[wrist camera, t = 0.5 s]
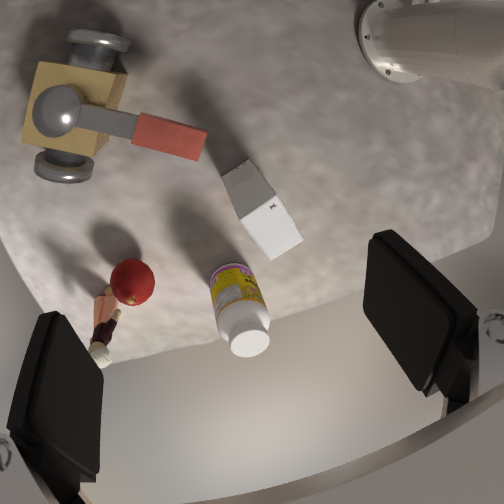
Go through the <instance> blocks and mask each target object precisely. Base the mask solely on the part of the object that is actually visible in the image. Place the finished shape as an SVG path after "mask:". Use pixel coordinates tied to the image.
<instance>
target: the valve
mask: <svg viewBox="0 0 504 504" xmlns="http://www.w3.org/2000/svg"><path fill="white" fill-rule="evenodd" d="M64 41H65V42H70V43H73V44H72V47H71V50H70V53H69V56H68V59H67V62H50V61H39V63H38V67H37V70H36V74H35V78H34V81H33V85H32V89H31V93H30V98H29V102H28V107H27V112H26V116H25V122H24V127H23V133H22V139H21V142H22V143H27V144H32V145H37V146H42V147H46V148H45V151H43V152H40V153H38V154H37V155H36V158H35V165H34V172H35V174H36V175H38V176H39V177H41V178H43V179H45V180H48V181H52V182H57V183H68V184H70V183H81V182H84V181H87V180H89V179H90V178H91V176H92V171H93V167H94V161H93V160H92V159H91V158H89V157H93V156H94V155H95V154H96V153H97V152H98V151H99V150H100V149H101V147H102V146H103V145H104V144H105V143H106V142H107V141H108V140H109V136H110V134H105V133H101V132H96V131H92V130H87V129H83V128H78V127H76V128H75V129H73V130H72V131H70V132H68V133H67V134H65V135H63V136H61V137H57V138H49V137H46V136H44V135H42V134H41V133H40V132H39V131H38V130H37V129H36V127H35V125H34V123H33V119H32V109H33V105H34V102H35V100H36V99H37V97H38V96H39V94H40V93H41V92H43V91H44V90H45V89H47V88H49V87H52V86H56V85H63V84H69V85H73V86H75V87H77V88H78V89H79V90H80V91H81V92H82V94H83V96H84V98H85V102H86V104H91V105H96V106H101V107H105V108H110V109H114V110H117V108H118V104H119V101H120V98H121V95H122V92H123V89H124V86H125V83H126V80H127V77H128V74H125V73H120V72H116V71H111V68H112V65H113V63H114V60H115V57H116V54H117V51H118V52H123V53H127V51H128V48H129V46H130V43H131V40H130V39H127V38H124V37H121V36H118V35H114V34H110V33H105V32H100V31H95V30H88V29H81V28H69V29H68V32H67V35H66V37H65V40H64Z"/></svg>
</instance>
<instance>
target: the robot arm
mask: <svg viewBox="0 0 504 504" xmlns="http://www.w3.org/2000/svg"><path fill="white" fill-rule="evenodd" d="M420 2H421V0H375V1H373V2H372V3H370V4H369V5H368V6H367V7H366V8H365V10H364V11H363V13H362V15H361V17H360V21H359V26H358V36H359V42H360V46H361V49H362V52H363V54H364V56H365V58H366V60H367V61H368V63H369V64H370V65H371V67H372V68H373V69H374V70H375V71H376V72H377V73H378V74H380V75H381V76H382V77H384V78H386V79H388V80H390V81H394V82H398V83H411V82H414V81H417V80H419V79H420V78H422V77H423V76H430V77H436V78H442V79H447V80H452V81H457V82H462V83H466V84H471V85H475V86H479V87H483V88H488V89H492V90H497V91H504V0H472V1H450V2H440V0H425V3H424V4H420ZM363 310H364V313H365V315H366V316H367V318H368V319H369V321H370V322H371V324H372V325H373V327H374V328H375V329H376V331H377V332H378V334H379V335H380V337H381V338H382V340H383V341H384V342H385V344H386V345H387V347H388V348H389V350H390V351H391V353H392V354H393V356H394V357H395V358H396V360H397V361H398V363H399V364H400V366H401V367H402V369H403V370H404V372H405V373H406V375H407V376H408V378H409V380H410V381H411V383H412V384H413V386H414V387H415V388H416V390H418V391H422V392H423V393H424V395H425V397H428V396H430V395H432V394H434V393H436V392H438V391H441V392H442V394H443V395H444V401H443V407H442V413H441V419H440V420H438V421H436V422H434V423H432V424H431V425H429V426H427V427H425V428H423V429H421V430H419V431H417V432H416V433H413V434H411V435H410V436H408V437H406V438H403V439H401V440H399V441H397V442H395V443H393V444H391V445H389V446H387V447H384V448H382V449H380V450H378V451H375V452H373V453H371V454H368V455H366V456H364V457H361V458H359V459H356V460H354V461H351V462H349V463H346V464H344V465H341V466H338V467H335V468H332V469H330V470H327V471H324V472H321V473H318V474H315V475H312V476H309V477H306V478H303V479H300V480H296V481H293V482H289V483H286V484H282V485H278V486H275V487H271V488H267V489H262V490H258V491H254V492H250V493H246V494H241V495H235V496H231V497H225V498H219V499H213V500H207V501H200V502H194V503H185V504H504V311H501V310H489V311H486V312H485V313H483V314H482V315H481V317H479V316H478V315H477V314H476V313H477V308H475V306H474V305H473V304H472V303H471V302H470V301H469V300H468V299H467V298H466V297H465V296H464V295H463V294H462V293H461V292H460V291H459V290H458V289H457V288H456V287H455V286H454V285H453V284H452V283H451V282H450V281H449V280H447V278H446V277H445V276H443V275H442V274H441V273H440V272H439V271H438V270H437V269H436V268H435V267H434V266H433V265H432V264H431V263H430V262H429V261H428V260H426V259H425V258H424V257H423V256H422V255H421V254H420V253H419V252H418V251H417V250H415V249H414V248H413V247H412V246H411V245H410V244H409V243H408V242H406V241H405V240H404V239H403V238H402V237H401V236H400V235H398V234H397V233H396V232H395V231H394V230H392V229H389V230H385V231H382V232H378V233H375V234H374V235H373V237H372V239H371V240H369V244H368V257H367V269H366V280H365V290H364V299H363ZM103 382H104V379H103V374H102V371H101V370H100V368H99V367H98V365H97V364H96V362H95V361H94V359H93V358H92V357H91V355H90V354H89V352H88V351H87V349H86V348H85V346H84V345H83V343H82V342H81V340H80V339H79V337H78V336H77V334H76V332H75V331H74V329H73V328H72V326H71V324H70V323H69V321H68V320H67V318H66V317H65V315H63V314H60V313H59V312H58V311H52V312H48V313H43V314H41V315H40V316H39V317H38V320H37V323H36V325H35V328H34V331H33V334H32V337H31V339H30V342H29V346H28V348H27V351H26V355H25V358H24V361H23V364H22V367H21V371H20V374H19V378H18V381H17V385H16V389H15V392H14V396H13V400H12V404H11V409H10V413H9V417H8V422H7V429H9V430H10V436H8V435H7V434H3V433H0V504H92V503H91V502H90V501H89V499H88V498H87V497H86V496H85V495H84V493H83V492H82V491H81V489H80V482H96V474H97V473H99V469H100V427H101V410H102V396H103Z"/></svg>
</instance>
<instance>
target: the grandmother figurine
mask: <svg viewBox="0 0 504 504" xmlns="http://www.w3.org/2000/svg"><path fill="white" fill-rule="evenodd" d="M104 292H105V295H106V296H98V297H96V298H95V301H94V332H93V337H92V338H91V339H90V347H89V350H88V352H89V354H90V355H91V357H92V358H93V359H94V361H95V362H96V364H97V365H98V367H99V368H104V367H106V366H107V365H108V364H110V363H111V362H112V359H111V356H110V351H109V350H108V349H107V347H106V346H107V344H108V343H109V342H110V341H111V339H112V333H113V331H114V329H115V327H116V325H117V321H118V319H119V316H120V315H121V311H120V310H119V309H117V306H118V301H119V300H118V299H117V298H116V297H115V296H114V295H113V292H112V289H111V286H108V287H107V288H105V291H104Z"/></svg>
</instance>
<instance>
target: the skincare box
mask: <svg viewBox="0 0 504 504" xmlns="http://www.w3.org/2000/svg"><path fill="white" fill-rule="evenodd" d="M222 180H223V183H224V185H225V187H226V190H227V192H228V195H229V197H230V199H231V202H232V204H233V206H234V209H235V211H236V214H237V216H238V218H239V220H240V222H241V223H242V225H243V226H244V228H245V229H246V230H247V232H248V233H249V234H250V236H251V237H252V238H253V239H254V241H255V242H256V243H257V244H258V246H259V247H260V248H261V250H262V251H263V252H264V254H265V255H266V256H267V258H268V259H269V260H270V261H271V260H273V259H274V258H276V257H278V256H279V255H281V254H282V253H284V252H285V251H287V250H289V249H290V248H292V247H293V246H295V245H297V244H298V243H300V242H302V241H303V240H304V238H303V236H302V234H301V233H300V231H299V229H298V228H297V226H296V224H295V223H294V221H293V219H292V217H291V216H290V214H289V213H288V211H287V209H286V208H285V206H284V205H283V203H282V201H281V200H280V198H279V197H278V195H277V194H276V192H275V191H274V190H273V188H272V187H271V186H270V185H269V183H268V182H267V181H266V179H265V178H264V177H263V176H262V174H261V173H260V172H259V170H258V169H257V168H256V167H255V165H254V164H253V163H252V161H251V160H250V159H248V160H247V161H245V162H243V163H242V164H240V165H239V166H237V167H236V168H234V169H233V170H231V171H230V172H228V173H227V174H225V175H224V176H222Z"/></svg>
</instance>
